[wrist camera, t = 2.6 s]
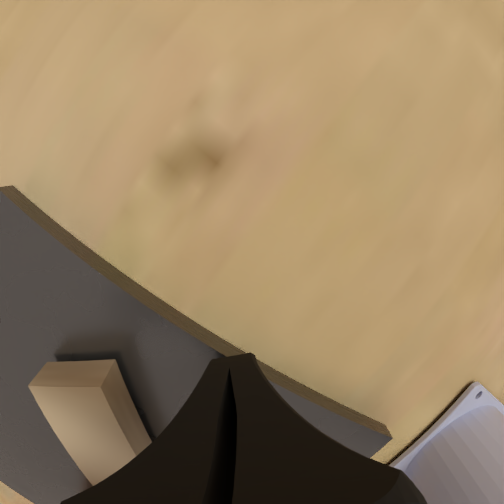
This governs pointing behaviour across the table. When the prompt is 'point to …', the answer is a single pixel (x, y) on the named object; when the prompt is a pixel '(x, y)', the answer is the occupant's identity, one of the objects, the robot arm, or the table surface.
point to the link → (91, 414)
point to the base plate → (107, 351)
